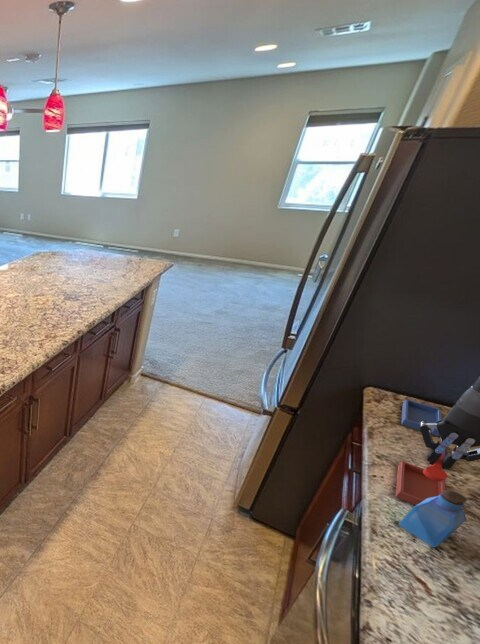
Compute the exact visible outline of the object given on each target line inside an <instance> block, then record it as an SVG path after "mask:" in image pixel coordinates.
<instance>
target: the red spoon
mask: <svg viewBox="0 0 480 644" xmlns="http://www.w3.org/2000/svg"><path fill="white" fill-rule="evenodd" d="M443 455H444V451H443V452H442V455H441V457H440V458H439V459H438V460H437V461H436V463H434V464H433V465H431V464H430V465H428V466H425V468H423V469H424V470H423V473H424V475H425V476H426V477H428V478H429V479H431V480H434V481H438V482H442V481H444V480H445V481H446V480H447V479H448V474H447V472H446V471H445V470H444V469H442V462H443Z"/></svg>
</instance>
